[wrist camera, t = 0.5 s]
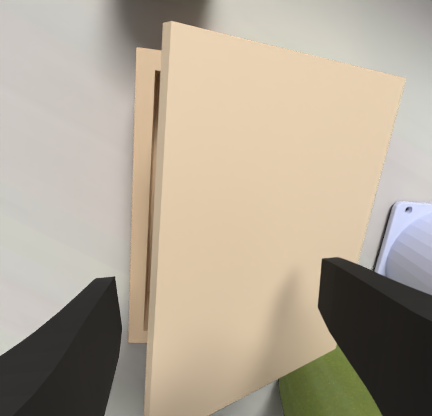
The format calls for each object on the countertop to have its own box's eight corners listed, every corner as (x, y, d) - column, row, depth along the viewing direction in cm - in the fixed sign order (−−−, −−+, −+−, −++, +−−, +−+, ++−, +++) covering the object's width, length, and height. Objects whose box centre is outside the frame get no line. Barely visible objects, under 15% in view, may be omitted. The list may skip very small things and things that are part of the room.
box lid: (395, 78, 16) (406, 78, 15) (328, 343, 20) (335, 348, 20) (162, 22, 9) (171, 21, 9) (142, 437, 14) (147, 447, 13)
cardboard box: (348, 83, 20) (394, 80, 16) (301, 299, 25) (329, 340, 21) (143, 57, 18) (136, 47, 14) (135, 297, 23) (128, 343, 19)
